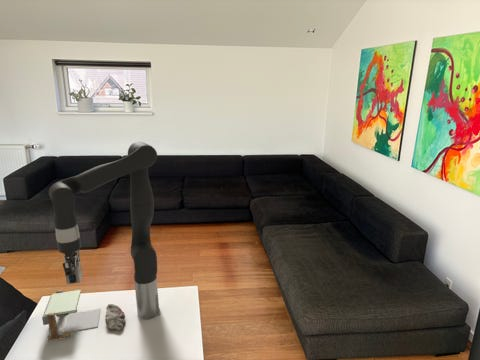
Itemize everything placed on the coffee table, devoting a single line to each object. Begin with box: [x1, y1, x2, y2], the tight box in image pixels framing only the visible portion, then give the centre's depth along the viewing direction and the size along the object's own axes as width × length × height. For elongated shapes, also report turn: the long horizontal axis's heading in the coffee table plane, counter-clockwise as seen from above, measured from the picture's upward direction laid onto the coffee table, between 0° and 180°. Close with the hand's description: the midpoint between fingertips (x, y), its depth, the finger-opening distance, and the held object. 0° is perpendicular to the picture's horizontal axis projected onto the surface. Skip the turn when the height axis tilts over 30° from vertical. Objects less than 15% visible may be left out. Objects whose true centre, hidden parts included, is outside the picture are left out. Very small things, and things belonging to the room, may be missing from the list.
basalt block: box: [64, 262, 83, 285], centre depth 129 cm, size 4×4×6 cm
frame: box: [47, 289, 78, 342], centre depth 143 cm, size 8×18×12 cm, turn 16°
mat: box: [62, 308, 101, 334], centre depth 147 cm, size 13×12×1 cm
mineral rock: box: [104, 303, 126, 331], centre depth 147 cm, size 15×8×4 cm, turn 16°
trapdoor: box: [41, 289, 82, 326], centre depth 142 cm, size 12×14×5 cm
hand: (74, 278), depth 129 cm, fingers closed on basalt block, 4 cm apart
